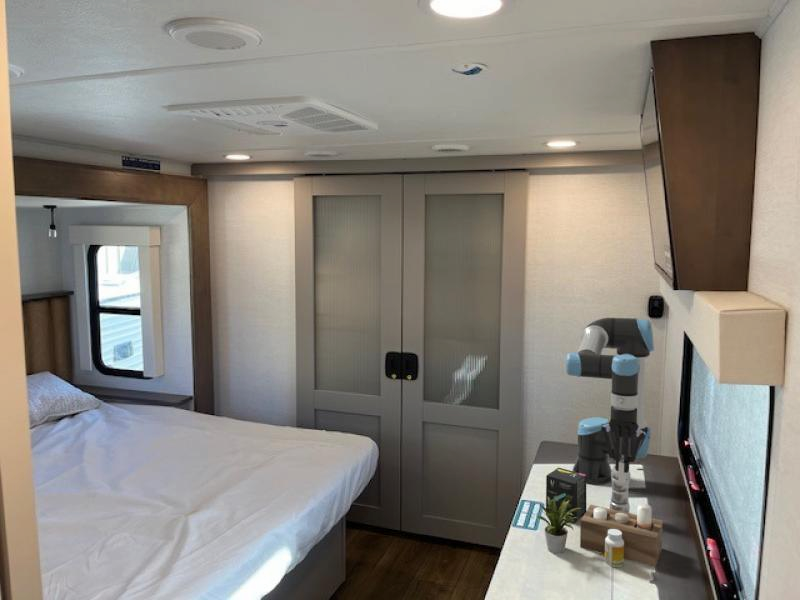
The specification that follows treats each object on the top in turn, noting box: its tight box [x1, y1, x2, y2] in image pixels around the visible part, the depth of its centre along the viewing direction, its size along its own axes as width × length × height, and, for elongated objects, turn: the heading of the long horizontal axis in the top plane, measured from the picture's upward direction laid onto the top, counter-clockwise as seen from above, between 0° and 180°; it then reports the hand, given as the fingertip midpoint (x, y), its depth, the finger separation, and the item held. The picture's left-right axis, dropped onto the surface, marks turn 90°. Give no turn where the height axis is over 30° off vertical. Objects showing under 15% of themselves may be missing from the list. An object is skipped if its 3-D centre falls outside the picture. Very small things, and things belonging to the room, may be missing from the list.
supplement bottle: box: [604, 529, 625, 568], centre depth 181 cm, size 5×5×10 cm
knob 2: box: [636, 503, 653, 531], centre depth 185 cm, size 4×4×10 cm
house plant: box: [535, 497, 580, 555], centre depth 187 cm, size 14×14×16 cm
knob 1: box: [593, 506, 607, 521], centre depth 192 cm, size 4×4×10 cm
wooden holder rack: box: [579, 504, 664, 568], centre depth 189 cm, size 12×22×10 cm, turn 59°
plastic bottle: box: [609, 456, 632, 513], centre depth 209 cm, size 6×7×20 cm
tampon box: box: [545, 467, 587, 525], centre depth 210 cm, size 11×9×15 cm
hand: (621, 481), depth 187 cm, fingers closed
